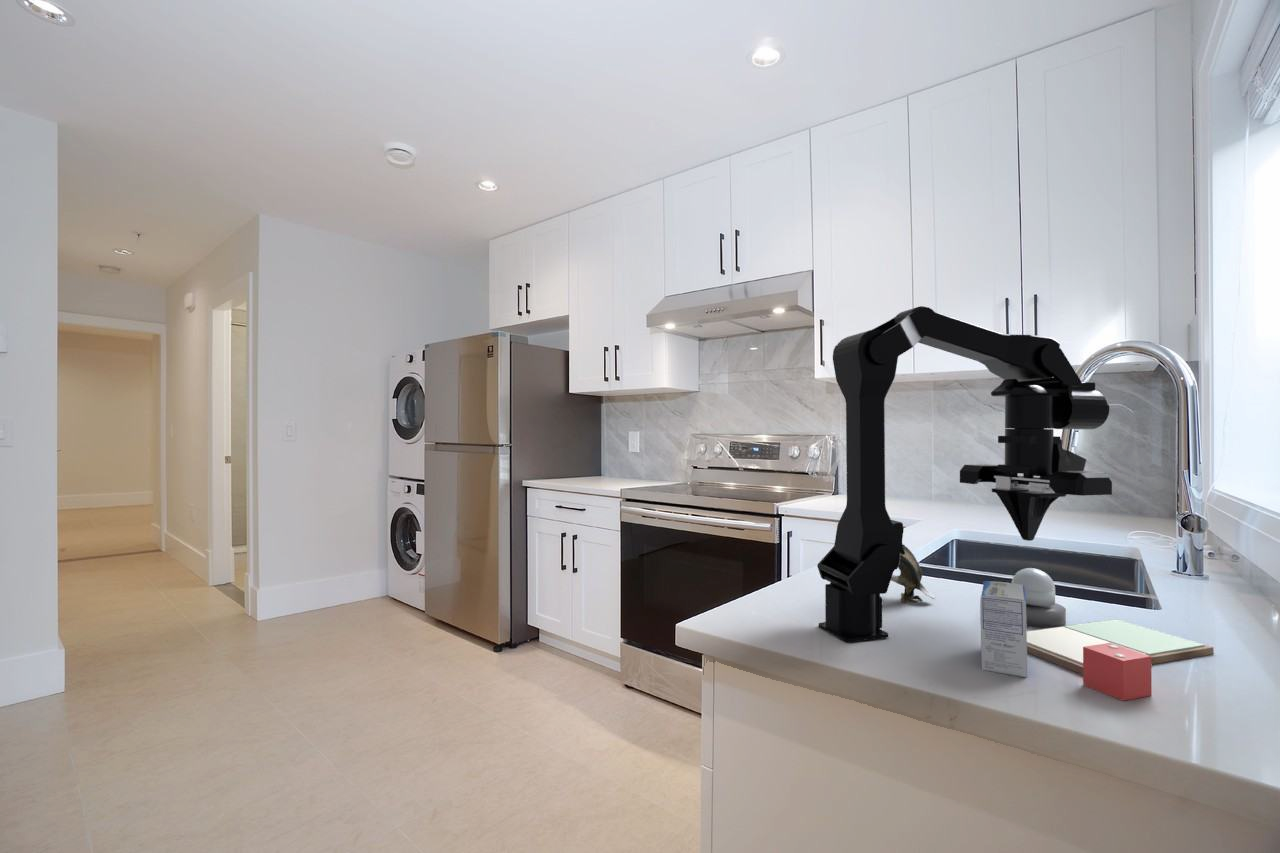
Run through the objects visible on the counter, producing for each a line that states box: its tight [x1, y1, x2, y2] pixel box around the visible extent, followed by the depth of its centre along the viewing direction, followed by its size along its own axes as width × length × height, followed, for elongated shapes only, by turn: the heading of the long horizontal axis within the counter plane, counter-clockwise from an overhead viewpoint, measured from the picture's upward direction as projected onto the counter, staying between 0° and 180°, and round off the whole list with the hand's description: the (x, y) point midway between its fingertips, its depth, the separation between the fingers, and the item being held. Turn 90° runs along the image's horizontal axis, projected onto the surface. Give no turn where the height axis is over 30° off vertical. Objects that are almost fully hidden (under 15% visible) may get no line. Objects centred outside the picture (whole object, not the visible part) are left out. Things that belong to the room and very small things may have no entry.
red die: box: [1082, 643, 1153, 701], centre depth 62 cm, size 4×4×4 cm
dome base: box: [1026, 602, 1067, 629], centre depth 85 cm, size 8×8×2 cm
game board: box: [1027, 618, 1215, 675], centre depth 73 cm, size 21×11×1 cm, turn 107°
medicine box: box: [979, 580, 1028, 679], centre depth 69 cm, size 8×4×9 cm, turn 148°
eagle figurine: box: [890, 543, 936, 604], centre depth 93 cm, size 8×7×9 cm
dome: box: [1011, 567, 1056, 606], centre depth 85 cm, size 5×5×5 cm
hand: (1027, 540), depth 83 cm, fingers closed
